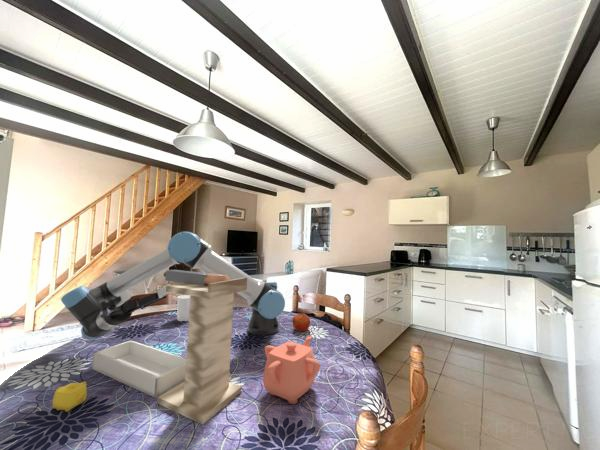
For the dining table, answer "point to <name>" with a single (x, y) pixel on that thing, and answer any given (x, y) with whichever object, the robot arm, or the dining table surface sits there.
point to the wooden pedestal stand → (206, 351)
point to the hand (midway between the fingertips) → (151, 290)
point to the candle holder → (183, 307)
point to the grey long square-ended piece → (193, 277)
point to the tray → (141, 367)
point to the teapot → (290, 370)
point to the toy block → (69, 396)
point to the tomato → (301, 322)
